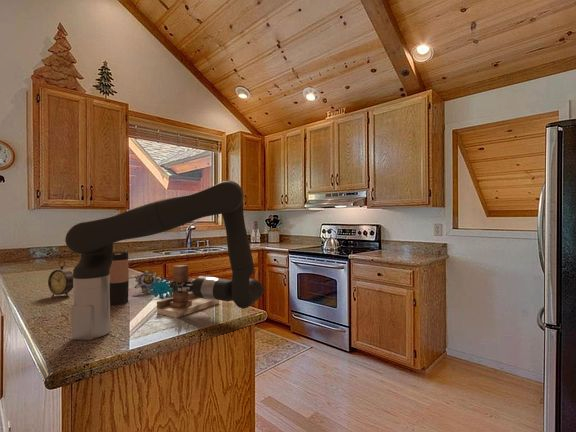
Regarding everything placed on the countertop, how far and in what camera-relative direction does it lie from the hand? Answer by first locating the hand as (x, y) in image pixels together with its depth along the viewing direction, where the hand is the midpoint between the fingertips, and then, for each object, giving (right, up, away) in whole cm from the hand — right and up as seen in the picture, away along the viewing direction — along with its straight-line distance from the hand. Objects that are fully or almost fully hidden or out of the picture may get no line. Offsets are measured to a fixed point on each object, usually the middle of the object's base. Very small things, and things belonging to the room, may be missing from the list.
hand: (175, 283), depth 118 cm
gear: (-13, -10, +21) cm, 27 cm away
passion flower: (-23, -11, +31) cm, 40 cm away
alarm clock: (-58, -11, +23) cm, 64 cm away
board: (+5, -10, +2) cm, 11 cm away
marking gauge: (+3, -8, -1) cm, 8 cm away
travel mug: (-27, -11, +12) cm, 31 cm away
